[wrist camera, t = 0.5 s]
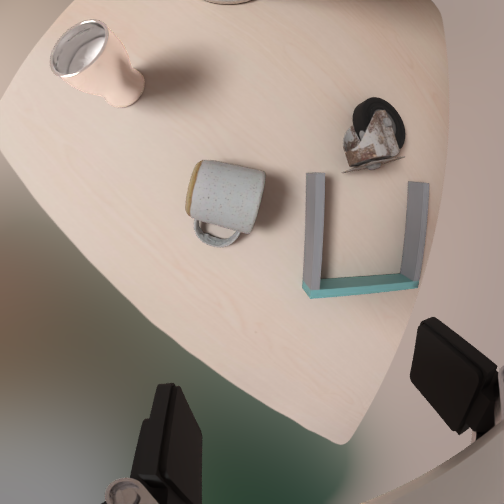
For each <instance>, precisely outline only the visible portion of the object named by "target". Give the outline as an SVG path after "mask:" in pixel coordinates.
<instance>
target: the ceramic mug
mask: <svg viewBox="0 0 504 504" xmlns="http://www.w3.org/2000/svg"><path fill="white" fill-rule="evenodd" d="M265 178H266V175H265V172H264V171H261V170H256V169H251V168H247V167H243V166H238V165H233V164H228V163H224V162H219V161H214V160H202V161H200V162H198V163H197V164H196V166H195V168H194V170H193V173H192V176H191V179H190V183H189V186H188V191H187V197H186V206H185V209H186V212H187V214H188V215H189V216H190V217H192V218H194V230H195V233H196V235H197V237H198V238H199V239H200V240H201V241H202V242H204V243H206V244H207V245H210V246H213V247H226V246H228V245H230V244H232V243H233V242H234V241H235V240H236V239H237V238H238V237H239V235H240V233H241V232H242V233H246V234H250V233H251V231H252V229H253V226H254V223H255V221H256V217H257V214H258V211H259V207H260V203H261V198H262V194H263V190H264V186H265ZM199 221H202V222H206V223H210V224H215V225H218V226H221V227H225V228H228V229H232V230H235V231H236V232H235V233H234V234H233V235H232V236H231V237H229V238H227V239H219V238H216V237H213V236H210V235H209V234H207V233H204V232H203V231H202V230H201V228H200V226H199Z"/></svg>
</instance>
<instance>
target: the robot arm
mask: <svg viewBox="0 0 504 504" xmlns="http://www.w3.org/2000/svg"><path fill="white" fill-rule="evenodd" d="M205 1H209V2H212V3H219V4H238V3H243V2H247V1H250V0H205ZM496 369H497V365H496V364H495V363H493V362H492V361H491V360H490V359H488V358H487V357H486V356H485V355H483V354H482V353H481V352H480V351H478V350H477V349H476V348H475V347H473V346H472V345H471V344H470V343H468V342H467V341H466V340H464V339H463V338H462V337H461V336H459V335H458V334H457V333H455V332H454V331H453V330H451V329H450V328H449V327H448V326H446V325H445V324H443V323H442V322H441V321H440V320H438V319H437V318H435V317H431V318H428V319H426V320H424V321H422V322H421V323H420V326H419V327H418V329H417V337H416V343H415V350H414V356H413V361H412V367H411V372H410V379H411V382H412V383H413V384H414V385H415V387H416V388H417V389H418V390H419V391H420V392H421V394H422V395H423V396H424V397H425V398H426V400H427V401H428V402H429V403H430V404H431V406H432V407H433V408H434V409H435V410H436V411H437V413H438V414H439V415H440V417H441V418H442V419H443V420H444V421H445V423H446V424H447V425H448V426H449V427H450V429H451V430H452V431H456V432H457V433H458V435H460V434H462V433H463V432H465V431H466V430H467V429H469V427H470V428H471V429H472V439H471V445H469V446H468V447H467V448H465V449H464V450H463V451H461V452H459V453H458V454H457V455H455V456H453V457H452V458H450V459H449V460H447V461H446V462H444V463H442V464H441V465H439V466H437V467H436V468H434V469H432V470H430V471H429V472H427V473H425V474H423V475H422V476H420V477H418V478H416V479H414V480H412V481H410V482H408V483H406V484H404V485H402V486H400V487H398V488H396V489H394V490H392V491H389V492H387V493H385V494H382V495H380V496H378V497H376V498H373V499H370V500H368V501H365V502H363V503H360V504H504V366H502V367H501V368H500V370H499V372H497V371H496ZM105 500H106V501H105V502H104V503H102V504H202V433H201V430H200V428H199V426H198V424H197V422H196V420H195V418H194V416H193V413H192V411H191V409H190V407H189V405H188V403H187V401H186V399H185V396H184V394H183V392H182V389H181V387H180V386H175V384H174V383H166V384H159V385H158V386H157V389H156V393H155V397H154V402H153V406H152V410H151V414H150V418H149V419H145V420H144V421H143V423H142V427H141V431H140V435H139V439H138V444H137V447H136V452H135V456H134V461H133V465H132V470H131V475H130V478H120V479H117V480H115V481H113V482H112V483H111V484H110V485H109V486H108V487H107V489H106V492H105Z"/></svg>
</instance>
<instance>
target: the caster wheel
mask: <svg viewBox="0 0 504 504" xmlns="http://www.w3.org/2000/svg"><path fill="white" fill-rule="evenodd" d="M404 141H405V128H404V124H403V121H402V119H401V117H400V115H399V114H398V112H397V111H396V110H395V108H394V107H393V106H392V105H391V104H389V103H388V102H387V101H385V100H383V99H381V98H377V97H372V98H369V99H367V100H365V101H364V102H362V103H361V104H359V105H358V106H357V107H356V108H355V110H354V113H353V126H351V127H350V128H349V129H348V131H347V132H346V133H345V135H344V139H343V148H344V151H345V154H346V157H347V160H348V164H349V166H350V167H353V166H358V167H356V168H353V169H350V170H347V171H345V172H342V173H346V172H351V171H356V170H361V169H365V168H367V169H369V170H373V169H377V168H379V167H380V166H381V165H382V164H385V163H388V162H391V161H394V160H397V159H401V158H404V157H397V158H391V157H394V156H396V155H397V154H398V153H399V152H400V150H399V149H400V148H402V146H403V144H404ZM388 158H391V159H388ZM360 165H361V166H360Z"/></svg>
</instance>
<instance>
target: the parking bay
mask: <svg viewBox="0 0 504 504" xmlns="http://www.w3.org/2000/svg"><path fill="white" fill-rule="evenodd" d="M428 200H429V183H422V182H409V181H408V198H407V215H406V228H405V238H404V248H403V256H402V263H401V271H400V273H399V274H386V275H373V276H359V277H344V278H328V279H320V278H321V264H322V248H323V229H324V201H325V173H306V217H305V246H304V267H303V285H302V288H303V289H304V291H305V292H306V293H307V295H308V296H309V298H310V299H313V298H326V297H338V296H349V295H360V294H370V293H379V292H389V291H397V290H406V289H414V288H418V285H419V279H420V273H421V267H422V260H423V253H424V245H425V237H426V227H427V215H428Z"/></svg>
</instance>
